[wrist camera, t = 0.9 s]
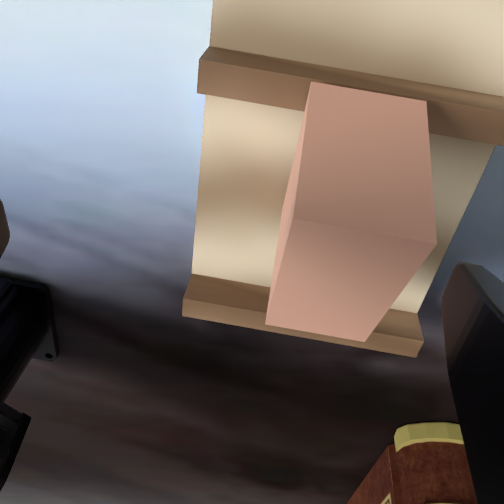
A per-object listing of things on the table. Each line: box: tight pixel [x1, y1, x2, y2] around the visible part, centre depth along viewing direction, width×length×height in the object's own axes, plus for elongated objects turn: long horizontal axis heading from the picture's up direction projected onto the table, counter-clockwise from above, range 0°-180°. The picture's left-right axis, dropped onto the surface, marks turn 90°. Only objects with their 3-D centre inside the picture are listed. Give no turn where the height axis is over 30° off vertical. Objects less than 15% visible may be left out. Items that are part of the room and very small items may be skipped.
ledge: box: [182, 0, 504, 357], centre depth 19 cm, size 24×12×4 cm, turn 172°
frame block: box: [265, 81, 437, 342], centre depth 18 cm, size 7×4×6 cm, turn 172°
